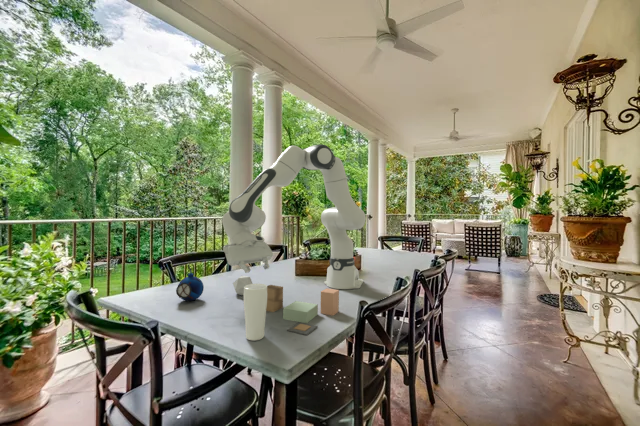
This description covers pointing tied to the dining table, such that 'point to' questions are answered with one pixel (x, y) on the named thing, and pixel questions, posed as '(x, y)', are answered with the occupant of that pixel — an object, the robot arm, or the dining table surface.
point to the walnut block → (274, 298)
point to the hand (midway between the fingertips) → (258, 270)
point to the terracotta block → (329, 301)
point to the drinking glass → (255, 310)
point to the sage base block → (300, 311)
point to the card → (302, 328)
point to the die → (241, 284)
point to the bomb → (190, 288)
